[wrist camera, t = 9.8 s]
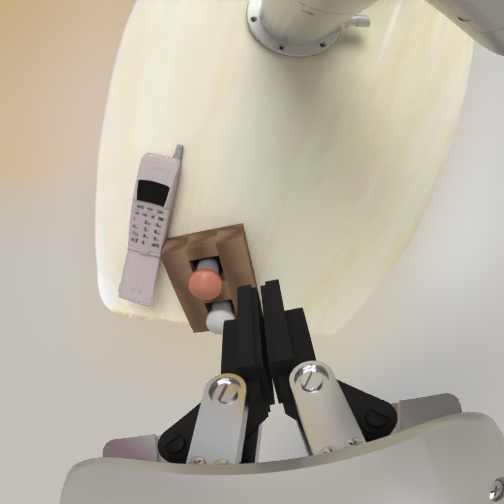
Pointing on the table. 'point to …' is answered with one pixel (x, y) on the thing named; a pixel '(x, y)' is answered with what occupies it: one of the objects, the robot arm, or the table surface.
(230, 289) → the block
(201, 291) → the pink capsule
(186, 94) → the table surface
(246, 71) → the table surface
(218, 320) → the white light bulb
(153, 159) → the mobile phone
